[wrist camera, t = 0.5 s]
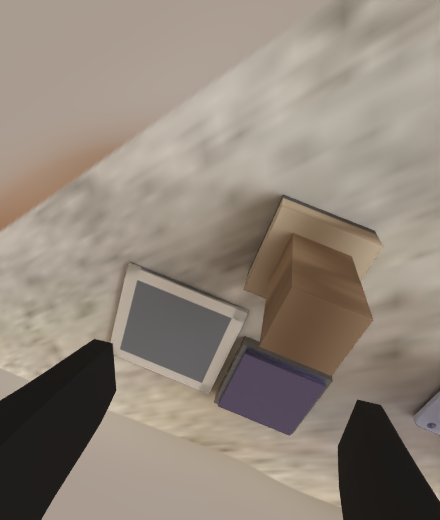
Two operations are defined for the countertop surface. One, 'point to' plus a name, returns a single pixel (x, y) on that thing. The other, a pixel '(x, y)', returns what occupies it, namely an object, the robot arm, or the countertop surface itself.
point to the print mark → (174, 328)
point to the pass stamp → (312, 284)
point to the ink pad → (270, 387)
